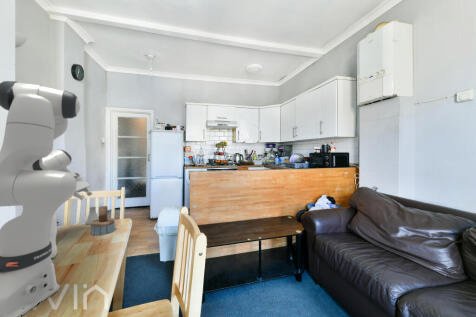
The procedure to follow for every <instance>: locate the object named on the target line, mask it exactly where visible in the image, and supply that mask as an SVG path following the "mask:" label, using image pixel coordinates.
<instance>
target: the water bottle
mask: <svg viewBox="0 0 476 317" xmlns="http://www.w3.org/2000/svg"><path fill="white" fill-rule="evenodd" d="M57 219H58V216H57V213H56V212H55V213H54V215H53V217H52V220H51V226H50V242H51V244H52V253H51V255H50V256H51V259H54V258H56V255H57V253H58V247H57V243H56V240H57V239H56V238H57V235H58V229H57V228H58V225H57V223H58V222H57Z"/></svg>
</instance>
